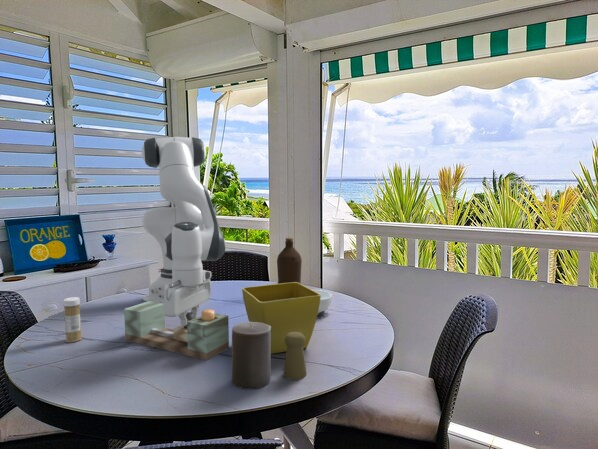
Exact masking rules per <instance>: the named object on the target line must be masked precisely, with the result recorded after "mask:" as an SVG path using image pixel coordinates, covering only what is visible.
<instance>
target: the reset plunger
mask: <svg viewBox="0 0 598 449" xmlns="http://www.w3.org/2000/svg"><path fill="white" fill-rule="evenodd" d="M214 313H215V310H214V309H209V308H207V309H203V310H201V316H202V321H207V322H210V321H212V320H214Z"/></svg>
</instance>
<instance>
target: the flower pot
mask: <svg viewBox="0 0 598 449" xmlns="http://www.w3.org/2000/svg"><path fill="white" fill-rule="evenodd" d="M241 290H242V298H243V303H244V307H245V312H246V316H247V319H248V322H259V323H264V324H267V325H269V326H271V354H278V353H284V352H285V353H286V351H287V345H286V344H285V337H286V335H287V334H288V333H290V332H300V333H302V334H303V335H304V337H305V343H304V345H303V349H306V348H308V346H309V343H310V342H311V338H312V335H313V333H314V329H315V326H316V322H317V319H318V315H319V314H318V310H319V304H320V298H321V295H320V294H319V293H317V292H315V291H313V290H314V289H311V288H309V287H307V286H305V285H303V284H300V283H297V282H292V283H282V284H278V283H273V284H262V285H257V286H255V285H254V286H245V287H242V288H241Z"/></svg>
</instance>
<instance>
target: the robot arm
mask: <svg viewBox="0 0 598 449" xmlns="http://www.w3.org/2000/svg"><path fill="white" fill-rule="evenodd" d="M206 149H207V148H206V147H205V144H204V141H203V140H202V139H201V138H197V137H193V136H192V137H187V136H186V137H185V136H172V137H171V136H168V137H158V138H157V137H156V138H155V137H151V138H150V137H149V138H147V139H146V140H144V143H143V145H142V148H141V156H142V159H143V161H144V163H145V165H146V166H147V167H150V168H154V169H158V168H159V170H158V171H159V172H158V173H159V174H158V175H159V190H160V191H159V192H160V195H161V197H162V198H163V199H164V200H165V201H167V202H170V203H171V204H173V205H175V206H174V207H173V206H171V207H170V206H169V207H166V206H165V207H163V206H161V207H155V208H151V209H147V210H145V212H144V213H143V216H142V227H143V229H144V230H145V232H147V233H148V234H150V235H151V236H152V237H153V238H154V239H155V240H156V241H157V242H158V245H159V246H160V248H161V253H162V263H163V267H162V268H158V273H160V276H159V277H158V278H156V280H155V281H153V282H152V283H151V284H150V285H149V288H148V294H147V295H145V296H144V297H142V301H143V302H148V301H151V302H157V303H162V304H163V313H164V315H165V317H168V318H169V317H170V318H175V317H178V318H179V320H180V326H181V325H182V326H186V325H187V321H189V319H187V318H186V314H187V313H188V311H190V312H192V313H194V319H195V318H197V317H198V316H197V315H198V312H199V309H200V305H201V304H203V303H205V302H207V301H209V300H210V299H211V296H212V281H211V278H212V271H210V270H204V269H203V262H202V261H205V262H209V261H210V262H216V261H218V260H219V259H221V258H222V257H223V256H224V254H225V253H226V241H225V237H224V234H223V232H222V229H221V227H220V224H219V222H218V218H217V214H216V212H215V209H214V205H213V202H212V199H211V196H210V194H209V191H208V189H207V187H206V185H203V184H202V183H201V182H200V181H199V179H198V178H197V176H196V174H195V167H199V166H202V164H203V163H204V162H205V159H206V155H207V150H206Z"/></svg>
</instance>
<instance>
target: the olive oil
mask: <svg viewBox="0 0 598 449" xmlns="http://www.w3.org/2000/svg"><path fill="white" fill-rule="evenodd" d="M284 244H285V247H284V248H283V249H282V250H281V252H279V254H278V255H277V258H276V265H277V284H282V283H292V282H297V283H300V284H301V282H302V281H301V280H302V263H303V262H302V261H303V260H302V256H301V254H300V253H299V252H298V251H297V249H296V248H295V247H294V238H293V237H285V243H284Z"/></svg>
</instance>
